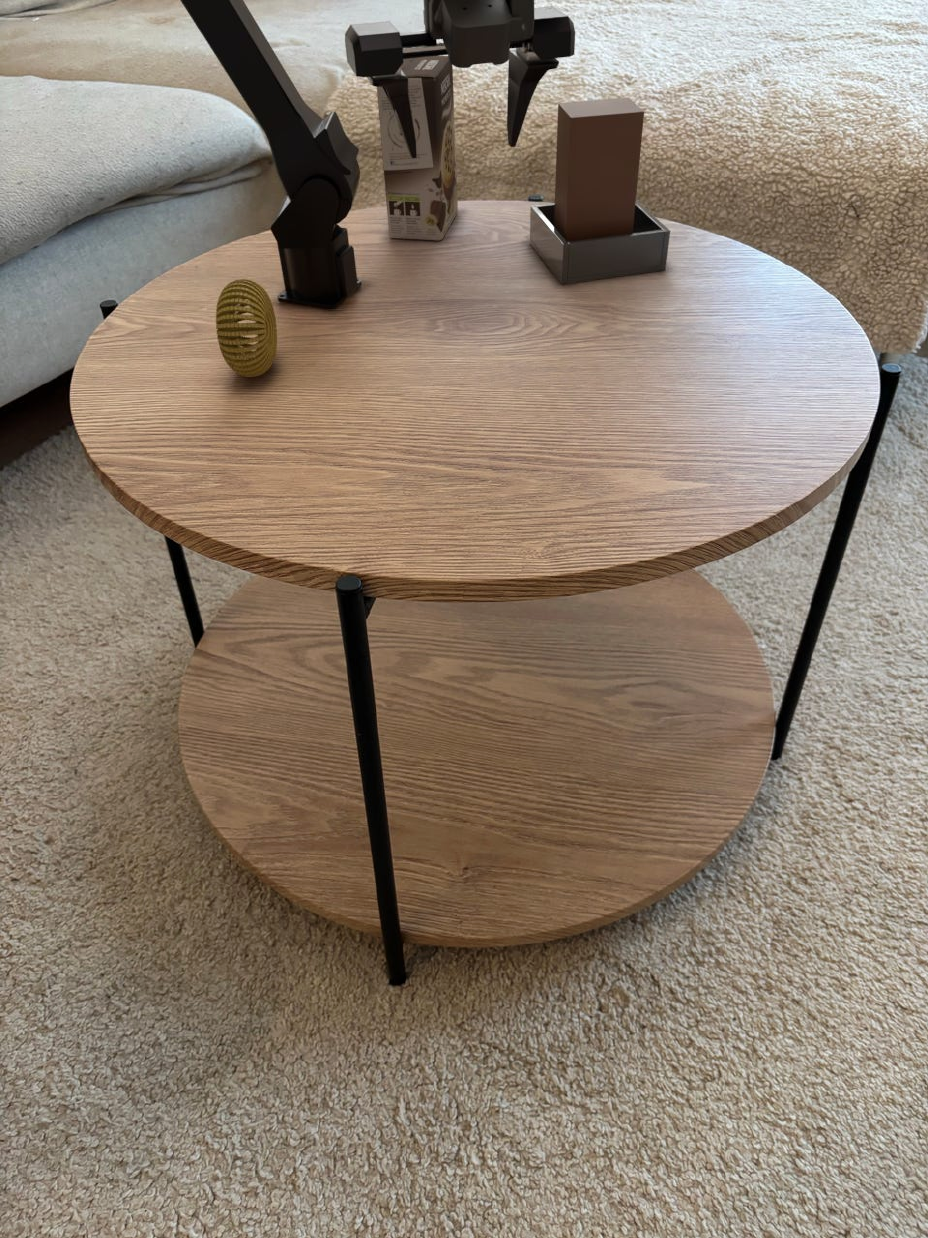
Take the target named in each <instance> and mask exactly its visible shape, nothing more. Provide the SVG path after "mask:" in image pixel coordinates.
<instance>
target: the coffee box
mask: <svg viewBox="0 0 928 1238" xmlns="http://www.w3.org/2000/svg"><path fill="white" fill-rule="evenodd" d="M403 61H404V63H403V64H402V65H401V70H402V71H403V73H404V74H405V75H406V76H407V78H408V94H409V101H410V107H411V113H412V119H413V125H414V132H415V138H416V154H417V157H416V158H414V159H412V157H411V156H410V153H409V151H408V148H407V145H406V143H405V140H404V137H403V135H402V132H401V129H400V127H399V124H398V121H397V119H396V116H395V113H394V111H393V108H392V106H391V104H390V102H389V99H388V98H387V96H386V94H385V92H384V90H383V88H382V87H376V94H377V107H378V108H377V110H378V120H379V121H378V122H379V132H380V145H381V156H382V168H383V177H384V190H385V191H384V193H385V203H386V214H387V215H386V216H387V228H388V237H389V238H391V239H407V240H409V239H410V240H422V241H423V240H424V241H437V242H439V241H441V240H443V238H444V236H445V235H446V233H447V231H448V230H449V228H450V226H451V224H452V223H453V221H454V219H455V218H456V216H457V214H458V212H459V205H458V204H459V201H458V198H459V197H458V174H457V173H458V171H457V151H456V148H457V147H456V146H457V145H456V128H455V127H456V123H455V122H456V121H455V97H454V96H455V95H454V94H455V93H454V67H453V66H454V65H452V64H451V63H450V61H449V58H448V55H440V56H430V57H419V58H409V59H403Z"/></svg>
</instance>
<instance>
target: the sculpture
mask: <svg viewBox="0 0 928 1238" xmlns="http://www.w3.org/2000/svg"><path fill="white" fill-rule="evenodd" d="M273 305H274V304H273V303H272V300H271V298H270V296H269V294H268V292H267V291H266V290H265V288H264V287H262V285H260V284H259V283H257V282H256V281H253V280H252V279H247V278H241V279H235V280H233V281H231V282H229V283H228V284H227V285H225V287H224V288H223V289H222V290H221V292H220V294H219V295H218V299H217V303H216V309H215V324H216V325H215V329H216V335H217V337H216V338H217V342H218V346H219V350H220V353H221V355H222V357H223V359H224V361H225V363H226V364H227V366H228V367H229V368H230V369H231V370H232V371H234V372H235V373H236V374H238V375H240V376H242V377H245V378H247V377H248V378H255V377H259V376H261V375H264V374H265V373H266V372H268V371H269V370H270V368H271V367H272V365H273V363H274V361H275V358H276V355H277V347H278V329H277V328H278V327H277V319H276V313H275V310H274V306H273ZM246 313H247V314H246ZM243 321H251V322H243ZM250 336H253V337H250Z"/></svg>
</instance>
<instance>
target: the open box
mask: <svg viewBox="0 0 928 1238" xmlns="http://www.w3.org/2000/svg"><path fill="white" fill-rule="evenodd" d="M554 208H555V202H550V203H549V202H548V203H541V204H533V205H530V214H529V215H530V216H529V217H530V221H529V244H530V246H531V247H532V248H533V250H535V252H536V254H538V256H539V257H540V259H541V260H542V261H543V263H544V264H545V265H546V266H547V267H548V269H549V270H550V272H551V273H552V274H553V275H554V276H555V278H556V279H557V280H558V282H559V283H560V284H561V285H569V284H575V283H582V282H589V281H590V282H591V281H597V280H602V279H603V280H604V279H605V280H606V279H611V278H619V277H627V276H633V275H641V274H646V273H655V272H661V271H666V269H667V260H668V252H669V246H670V245H669V244H670V235H671V230H670V229H669V228H668V227H667V226H665V225H664V223H662V222H661V221H660V220H659V219H658V218H657V217H656V216H655V215H653V213H651V212H650V211H649V210H648V209H647V208H646V207H645V206H644V205H643V204H641V202H639V201H638V200H637V199H636V203H635V214H634V224H633V234H625V235H618V236H610V237H602V238H595V239H587V240H579V241H572V242H567V241H566V240H565V239H564V238H563V237H562V235H561V234H560V233H559V232H558V231H557V230H556V228H555V227H554Z"/></svg>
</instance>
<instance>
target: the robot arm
mask: <svg viewBox="0 0 928 1238" xmlns="http://www.w3.org/2000/svg"><path fill="white" fill-rule="evenodd" d="M179 1H180V2H181V4H182V6H183V7H184V9H185V10H186V12H187V13H188V15H189V17H190V18H191V19H192V21H193V23H194V24H195V26H196V27H197V29H198V30H199V32H200V34H201V35H202V37H203V38H204V40H205V41H206V44H208V46H209V48H210V49H211V51H212V53H213V54H214V56H215V58H217V61H219V64H220V65H221V66H222V68H223V70H224V72H225V73H226V75H227V76H228V77H229V79H230V80H231V82H232V83H233V85H234V86H235V88H236V90H237V92H238V93H239V94H240V96H241V97H242V100H243V101H244V102H245V104H246V106H247V107H248V109H249V110H250V112H251V113H252V115H253V116H254V118H255V120H256V121H257V122H258V124H259V126H260V128H261V129H262V130H263V133H264V134H265V136H266V139H267V142H268V145H269V149H270V151H271V155H272V158H273V162H274V165H275V168H276V172H277V175H278V178H279V180H280V182H281V184H282V186H283V188H284V190H285V193H286V194H285V196H284V198H283V201H282V202H281V204H280V207H279V209H278V211H277V213H276V215H275V217H274V219H273V221H272V223H271V225H270V232H271V233H272V235H273V237H274V239H275V241H276V245H277V250H278V255H279V262H280V267H281V272H282V279H283V284H284V289H283V291H281V292H280V293H279V294H277V301H278V302H279V303H285V304H292V305H298V306H304V307H312V308H319V309H325V310H335V309H337V308H338V307H339V306H340V305H342V303H344V302H345V300H347V299H348V298H349V297H350V296H351V295H352V294H353V293H355V291H356V290H357V289H358V288H359V287H361V286H362V279H361V278H359V277H358V273H357V266H356V258H355V249H354V247H353V245H350V242H349V233H348V232H349V231H348V228H347V227H341V226H340V225H339V224H340V223H341V222H343V221H344V220H345V219H346V218H347V216H348V214H349V213H350V212H351V210H352V206H353V203H354V200H355V197H356V194H357V192H358V188H359V184H360V178H361V170H360V169H361V168H360V164H359V162H358V159H357V158H358V155H359V152H360V149H359V147H358V146H356V145H355V144H354V143H353V142H352V141H351V139H349V137H348V136H347V134H346V132H345V130H344V127H343V125H342V122H341V119H340V117H339V115H338V114H337V112H336V111H335V110H332V111H330V113H329V114H327V115H326V117H324V118H322V117H321V116H320V115H319V114H318V113H317V112H315V111H314V110H313V108H311V107H310V106H309V105H308V104H307V103H306V101H305V100H304V99H303V97H302V95H301V94H300V93H299V91H298V89H297V87H296V86H295V84H294V83H293V81H292V79H291V77H290V76H289V74H288V73H287V71H286V69H285V67H284V66H283V64H282V63H281V61H280V59H279V57H278V56H277V54H276V52H275V51H274V49H273V47H272V46H271V44H270V42H269V41H268V39H267V38H266V36H265V34H264V33H263V31H262V29H261V28H260V26H259V24H258V22H257V21H256V19H255V18H254V16H253V14H252V12H251V11H250V9H249V8H248V6H247V5H246V3H245V1H244V0H179ZM422 12H423V13H422V14H423V25H424V30H416V31H415V30H414V31H404V32H400V31H399V29H398V28H396V26H395V25H394V24H393V23H392V22H391V21H390V20H387V21H386V20H385V21H377V22H376V21H375V22H364V23H355V24H353V23H352V24H349V26H348V27H347V30H346V31H345V33H344V44H345V54H346V63H347V64H348V66H349V67H350V69H351V70H352V72H353V73H354V75H355V77H357V78H366V79H367V80H368V81H369V83H370V84H371V86H373V87H375V88H377V87H382V88H383V90H384V92H385V94H386V96H387V98H388V99H389V102H390V104H391V106H392V108H393V111H394V113H395V116H396V119H397V121H398V124H399V127H400V129H401V132H402V135H403V137H404V140H405V143H406V145H407V148H408V151H409V153H410V156H411V157H412V159H414V158H416V157H417V154H416V138H415V132H414V125H413V119H412V113H411V107H410V101H409V94H408V78H407V76H406V75H405V74H404V73H403V71H402V70H401V65H402V64H403V63H404V61H403V59H409V58H419V57H430V56H448V58H449V61H450V63H451V64H452V66H454V67H455V68H459V69H470V68H471V67H472V66H474V65H483V64H492V65H494V66H499V65H504V64H506V63H507V62H508V65H507V66H508V68H507V69H508V70H507V71H508V72H507V107H506V108H507V109H506V110H507V111H506V114H507V115H506V132H507V143H508V145H509V147H510V148H515V147H517V144H518V140H519V137H520V134H521V131H522V128H523V124H524V121H525V118H526V116H527V112H528V110H529V105H530V103H531V100H532V98H533V96H534V94H535V91H536V89H537V87H538V84H539V83H540V81H541V80H542V79H543V78H544V76H545V75H546V74H547V73H548V71H551V70H556V69H558V67H559V64H560V60H558V59H560V58H571V57H573V56H574V55H575V50H576V49H575V47H576V29H575V25H574V22H573V20H572V19H571V18H570V17H569V15H568V14H566V13H565V12H562V11H561V10H559V9H557V8H556V7H554V6H552V5H551V6H539V7H535V0H423V11H422ZM437 40H442V42H440V41H439V42H437Z"/></svg>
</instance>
